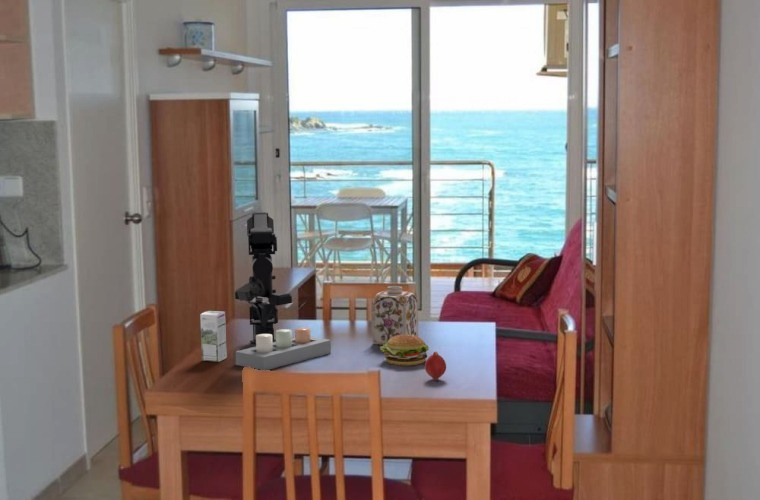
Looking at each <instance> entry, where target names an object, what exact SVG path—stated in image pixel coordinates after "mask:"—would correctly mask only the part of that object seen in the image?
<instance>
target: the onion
mask: <svg viewBox="0 0 760 500" xmlns="http://www.w3.org/2000/svg"><path fill="white" fill-rule="evenodd" d="M424 370H425V371H426V372H425V373H426V374H427V375H428V376H429V377H430V378H432V379H433V380H434V381H436V380H439V379H440V378H441V377H443V375H444V374H445V372H446V370H447V364H446V360H445V359H444V358H443V356H441V355H440V354H439V353H438V351H433V353H432V354H431V355H429V356H428V357H427V358H426V360H425V362H424Z"/></svg>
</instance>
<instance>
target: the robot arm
mask: <svg viewBox="0 0 760 500" xmlns="http://www.w3.org/2000/svg"><path fill="white" fill-rule="evenodd" d="M246 237H247V240H248V244H247V245H248V256H252V257H251V265H252V267H251V268H252V276H251V275H250V276H249V278H248V282H247V283H245V284H244V285H242V286H241V287H239V288H237V289H236V291H235V292H234V299H235V300H239V301H241V302H242V301H244V302H247V303H248V304H249V307H248V308H249V325H250V326H252V339H251V340H249V343H253V344H256V335H258V334H271V335H272V341H273V342H276V338H275V328H274V325H277V324H279V310H278V308H277V306H283V305H287V304H292V303H293V296H292V295H291V293H288V292H283V291H281V292H276V291H277V289H275V288H274V287H273V280H276V275H273V269H274V265H273V257H272V255H276V252H278V238H277V237H278V236H276V233H275V228H274V219H273V218H271V216H269V212H266V211H258V212H257V211H255V212H252V213H251V216H250V217H249V218H248V219H247V220H246Z"/></svg>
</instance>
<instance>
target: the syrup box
mask: <svg viewBox="0 0 760 500" xmlns="http://www.w3.org/2000/svg"><path fill="white" fill-rule="evenodd" d="M199 316H200V317H199V318H200V321H199V322H200V342H201V361H203V362H204V361H205V362H215V363H219V362H221V361H223V360H226V359H228V358H227V357H228V353H227V332H226V329H227V328H226V327H227V326H226V311H217V310H216V311H215V310H206V311H203V312H202V313H200V315H199Z"/></svg>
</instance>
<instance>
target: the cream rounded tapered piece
mask: <svg viewBox="0 0 760 500" xmlns="http://www.w3.org/2000/svg"><path fill="white" fill-rule="evenodd" d="M255 347H256V352H258V353H263V354H265V353H269V352H273V341H272V335H271V334H258V335H256V343H255Z"/></svg>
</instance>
